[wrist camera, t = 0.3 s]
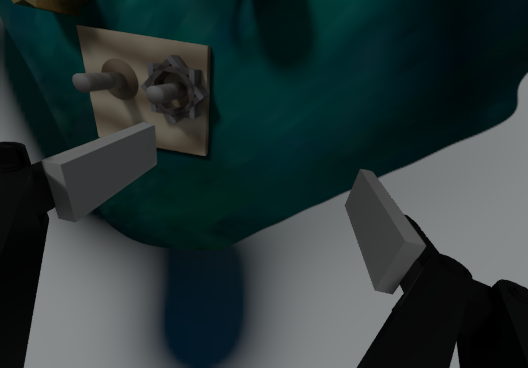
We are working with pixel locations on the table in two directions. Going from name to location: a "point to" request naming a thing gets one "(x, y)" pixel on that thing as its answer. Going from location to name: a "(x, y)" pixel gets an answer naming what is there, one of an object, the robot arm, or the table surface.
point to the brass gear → (55, 5)
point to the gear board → (140, 104)
